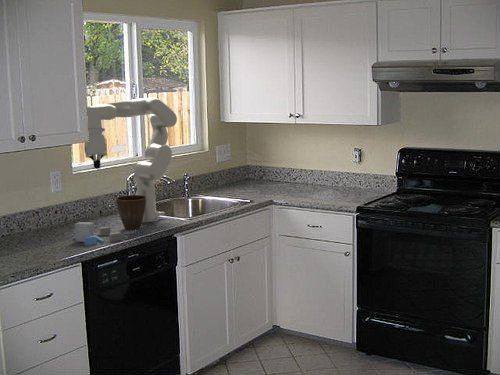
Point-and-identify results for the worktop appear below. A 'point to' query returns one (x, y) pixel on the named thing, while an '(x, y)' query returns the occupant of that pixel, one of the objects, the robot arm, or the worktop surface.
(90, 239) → the blue duct
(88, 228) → the medicine box
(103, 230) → the grey duct
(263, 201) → the worktop surface
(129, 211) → the plant pot
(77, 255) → the worktop surface
